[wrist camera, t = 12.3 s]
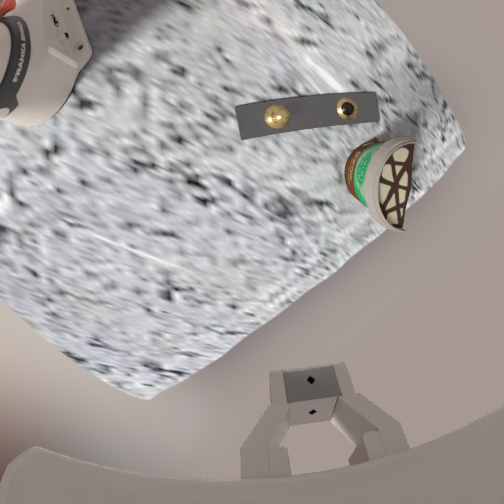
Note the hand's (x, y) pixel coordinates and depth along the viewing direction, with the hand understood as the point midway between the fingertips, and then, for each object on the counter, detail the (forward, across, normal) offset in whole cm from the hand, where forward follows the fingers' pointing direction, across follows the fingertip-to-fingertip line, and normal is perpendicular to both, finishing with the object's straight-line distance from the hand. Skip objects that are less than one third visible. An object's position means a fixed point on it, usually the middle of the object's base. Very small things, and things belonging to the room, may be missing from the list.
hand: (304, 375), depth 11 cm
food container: (+32, -14, -1) cm, 36 cm away
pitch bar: (+32, -8, -9) cm, 34 cm away
